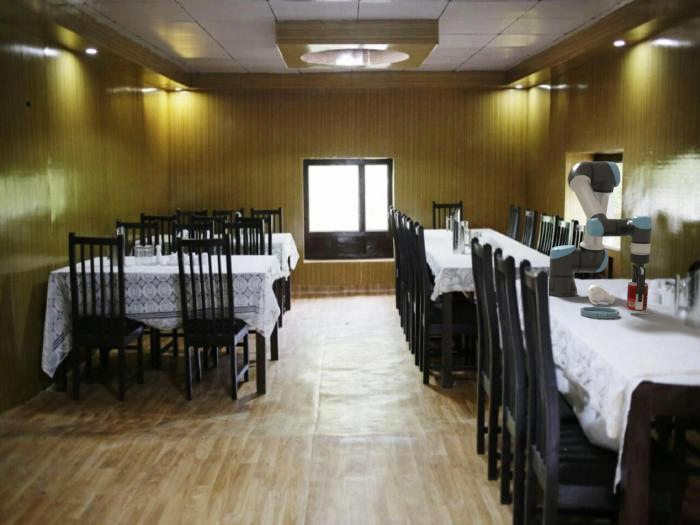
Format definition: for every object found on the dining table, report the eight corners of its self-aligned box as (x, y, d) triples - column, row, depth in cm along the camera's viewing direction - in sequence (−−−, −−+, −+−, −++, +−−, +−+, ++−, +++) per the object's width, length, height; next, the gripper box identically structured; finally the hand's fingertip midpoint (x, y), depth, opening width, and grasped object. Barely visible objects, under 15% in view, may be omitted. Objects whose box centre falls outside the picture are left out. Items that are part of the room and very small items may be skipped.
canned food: (648, 311, 318) (649, 285, 317) (627, 310, 320) (629, 284, 318) (645, 307, 326) (646, 282, 324) (625, 306, 327) (626, 281, 326)
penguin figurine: (588, 283, 349) (615, 286, 347) (585, 301, 350) (612, 305, 348) (590, 285, 342) (618, 288, 341) (587, 304, 344) (615, 307, 342)
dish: (578, 311, 328) (578, 306, 328) (615, 312, 325) (615, 307, 325) (583, 318, 313) (583, 312, 313) (621, 319, 311) (621, 314, 310)
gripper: (625, 250, 330) (622, 302, 333) (635, 256, 310) (632, 312, 313) (644, 250, 329) (641, 303, 332) (655, 256, 309) (651, 312, 312)
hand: (636, 307), depth 323 cm, fingers closed on canned food, 8 cm apart
